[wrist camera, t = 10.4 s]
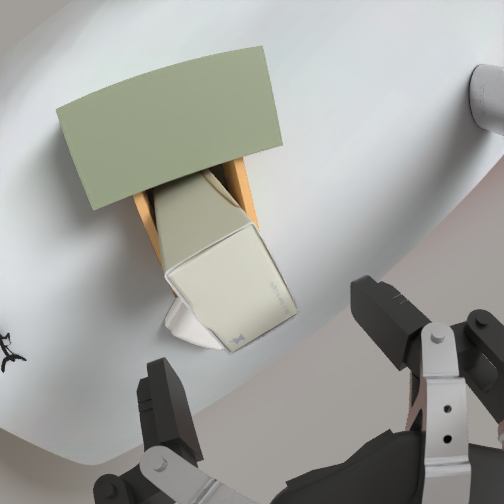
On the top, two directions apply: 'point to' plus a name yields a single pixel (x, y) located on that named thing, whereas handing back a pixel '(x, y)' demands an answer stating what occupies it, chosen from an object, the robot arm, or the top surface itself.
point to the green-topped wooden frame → (173, 129)
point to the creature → (9, 357)
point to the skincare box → (219, 261)
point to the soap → (188, 327)
